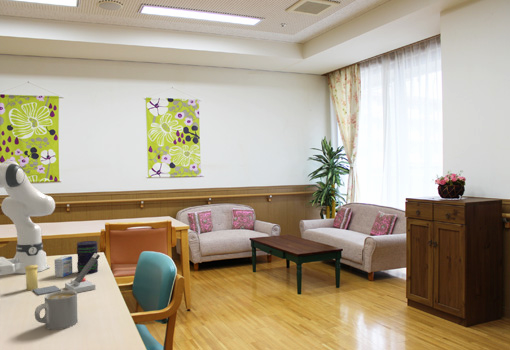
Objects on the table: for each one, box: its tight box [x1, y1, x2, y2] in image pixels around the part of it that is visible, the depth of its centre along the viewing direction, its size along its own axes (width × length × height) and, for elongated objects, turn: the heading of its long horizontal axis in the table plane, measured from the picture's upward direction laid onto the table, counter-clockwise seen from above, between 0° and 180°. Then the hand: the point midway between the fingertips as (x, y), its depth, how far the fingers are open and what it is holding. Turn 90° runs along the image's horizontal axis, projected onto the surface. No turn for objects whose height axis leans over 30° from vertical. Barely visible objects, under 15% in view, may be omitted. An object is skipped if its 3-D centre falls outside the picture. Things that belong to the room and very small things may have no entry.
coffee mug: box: [34, 290, 79, 330], centre depth 147 cm, size 13×10×10 cm
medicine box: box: [54, 255, 73, 278], centre depth 216 cm, size 8×4×9 cm, turn 168°
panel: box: [64, 277, 96, 294], centre depth 191 cm, size 12×9×3 cm
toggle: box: [72, 253, 101, 286], centre depth 192 cm, size 5×2×15 cm
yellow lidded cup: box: [25, 265, 39, 291], centre depth 192 cm, size 5×5×10 cm
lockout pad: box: [32, 285, 62, 296], centre depth 188 cm, size 9×9×1 cm
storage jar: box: [76, 240, 99, 275], centre depth 221 cm, size 10×10×15 cm
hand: (21, 262), depth 182 cm, fingers open, 8 cm apart
